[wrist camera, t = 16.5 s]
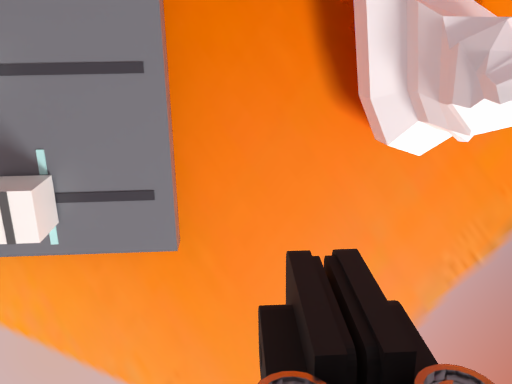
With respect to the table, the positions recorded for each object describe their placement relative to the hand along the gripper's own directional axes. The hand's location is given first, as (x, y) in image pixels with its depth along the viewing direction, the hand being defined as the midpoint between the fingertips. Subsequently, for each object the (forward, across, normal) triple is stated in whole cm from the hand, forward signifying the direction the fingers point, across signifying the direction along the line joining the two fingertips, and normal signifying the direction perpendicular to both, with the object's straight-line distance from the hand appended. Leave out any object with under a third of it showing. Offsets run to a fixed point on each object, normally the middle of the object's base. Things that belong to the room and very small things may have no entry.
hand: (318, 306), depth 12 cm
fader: (+27, +18, +6) cm, 33 cm away
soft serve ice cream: (+29, -13, -4) cm, 32 cm away
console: (+29, +16, +1) cm, 33 cm away
